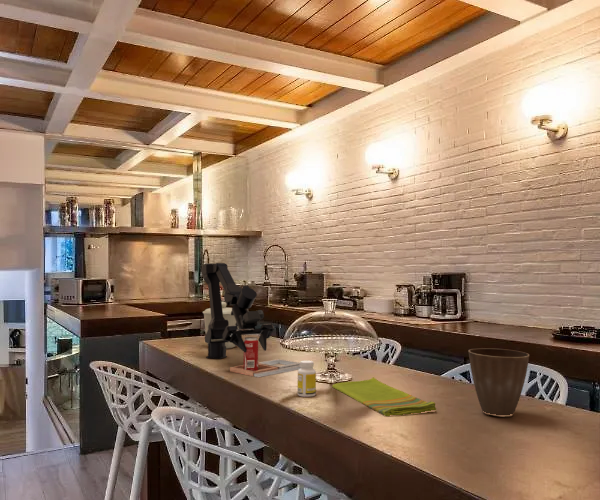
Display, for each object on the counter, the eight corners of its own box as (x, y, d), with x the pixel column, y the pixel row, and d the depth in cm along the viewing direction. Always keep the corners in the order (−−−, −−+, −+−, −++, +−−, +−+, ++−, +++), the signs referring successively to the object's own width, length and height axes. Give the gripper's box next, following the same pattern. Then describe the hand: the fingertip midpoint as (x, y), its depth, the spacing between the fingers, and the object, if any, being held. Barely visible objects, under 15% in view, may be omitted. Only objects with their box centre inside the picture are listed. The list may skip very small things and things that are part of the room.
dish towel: (385, 419, 139) (385, 406, 139) (331, 389, 173) (331, 378, 173) (438, 414, 144) (438, 402, 144) (375, 386, 178) (375, 376, 178)
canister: (239, 350, 244) (239, 303, 245) (198, 350, 245) (199, 302, 245) (243, 345, 263) (244, 300, 263) (205, 344, 263) (206, 300, 263)
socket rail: (258, 377, 187) (258, 372, 187) (229, 371, 197) (229, 367, 197) (306, 367, 205) (306, 363, 206) (278, 362, 215) (278, 359, 215)
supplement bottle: (318, 393, 164) (318, 360, 164) (312, 398, 159) (312, 363, 159) (300, 392, 165) (301, 359, 166) (294, 396, 160) (295, 362, 161)
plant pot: (501, 405, 153) (501, 347, 154) (542, 419, 139) (542, 355, 140) (456, 409, 148) (456, 349, 148) (494, 424, 134) (494, 358, 134)
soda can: (247, 369, 200) (247, 336, 200) (260, 370, 198) (260, 337, 199) (240, 372, 195) (241, 338, 195) (254, 373, 193) (254, 339, 194)
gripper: (226, 303, 196) (239, 338, 186) (272, 302, 206) (286, 335, 196) (217, 323, 203) (229, 358, 193) (262, 321, 212) (275, 354, 203)
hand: (255, 350), depth 196 cm, fingers open, 8 cm apart
